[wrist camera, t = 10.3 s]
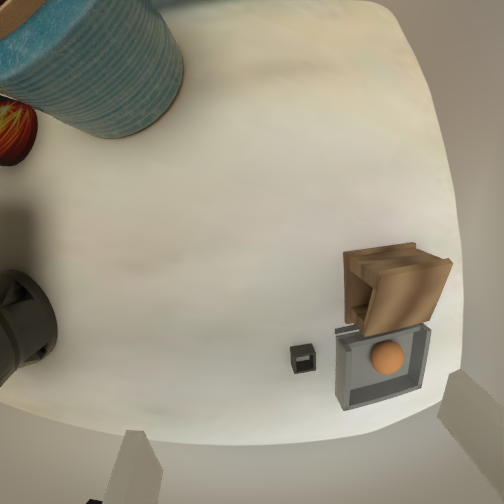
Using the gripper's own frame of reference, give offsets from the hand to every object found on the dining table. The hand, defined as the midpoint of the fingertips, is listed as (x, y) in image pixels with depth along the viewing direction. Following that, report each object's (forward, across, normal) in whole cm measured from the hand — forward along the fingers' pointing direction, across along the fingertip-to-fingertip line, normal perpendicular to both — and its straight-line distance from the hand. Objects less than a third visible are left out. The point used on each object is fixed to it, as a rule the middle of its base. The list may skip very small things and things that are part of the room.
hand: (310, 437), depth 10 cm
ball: (+25, +17, -16) cm, 34 cm away
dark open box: (+28, +5, -14) cm, 32 cm away
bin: (+28, +17, -18) cm, 37 cm away
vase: (+29, -14, +26) cm, 41 cm away
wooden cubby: (+28, +17, -5) cm, 33 cm away
